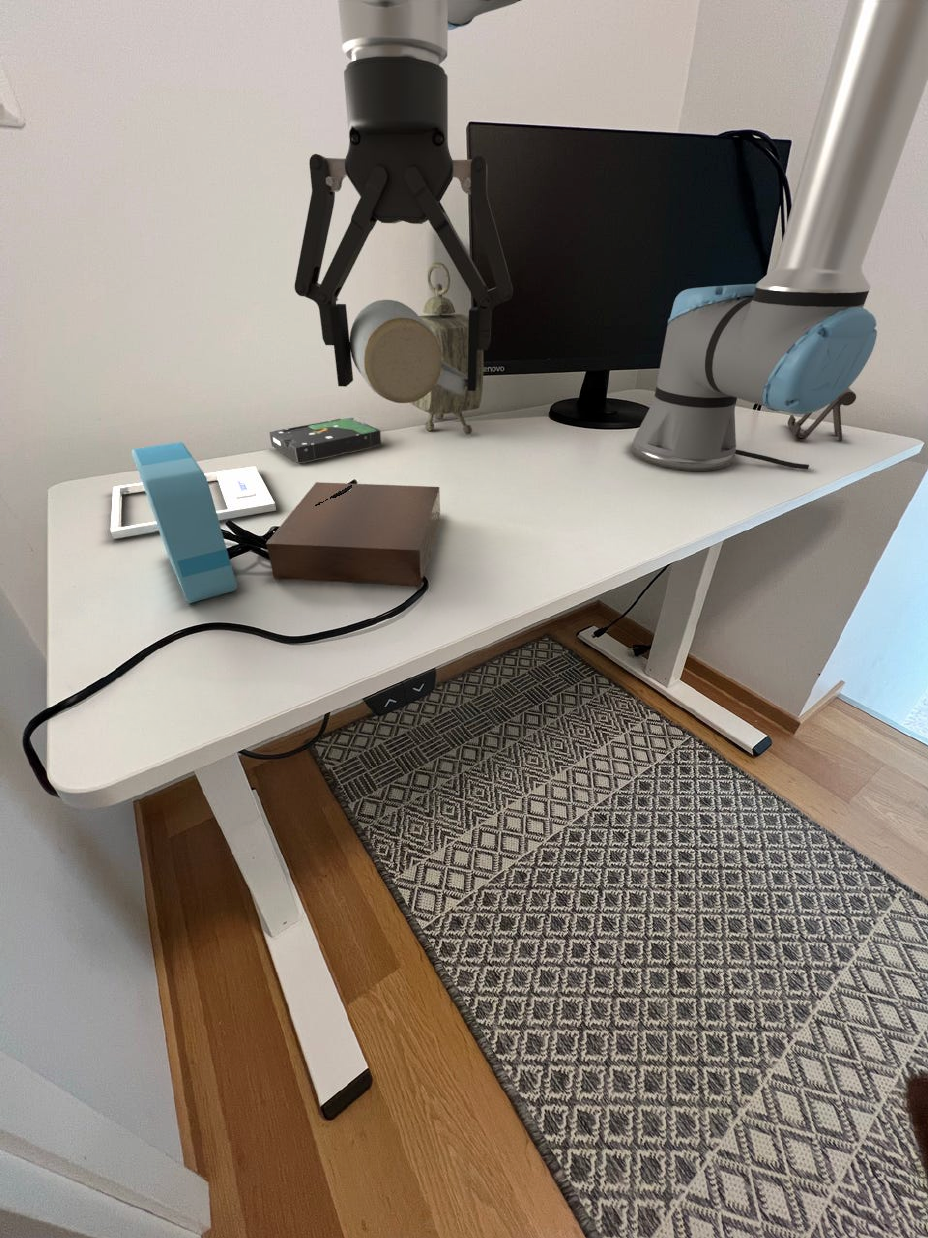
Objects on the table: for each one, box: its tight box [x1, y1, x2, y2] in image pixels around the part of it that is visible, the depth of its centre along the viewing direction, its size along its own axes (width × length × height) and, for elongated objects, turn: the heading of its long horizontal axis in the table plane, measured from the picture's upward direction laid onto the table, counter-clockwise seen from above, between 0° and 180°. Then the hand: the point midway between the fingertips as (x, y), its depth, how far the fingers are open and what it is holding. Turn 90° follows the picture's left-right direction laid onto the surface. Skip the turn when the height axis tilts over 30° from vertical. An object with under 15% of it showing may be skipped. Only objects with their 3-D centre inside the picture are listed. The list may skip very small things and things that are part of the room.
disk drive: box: [268, 417, 382, 464], centre depth 88 cm, size 10×3×15 cm
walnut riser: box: [265, 481, 441, 587], centre depth 60 cm, size 15×16×4 cm
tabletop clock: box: [409, 261, 485, 435], centre depth 90 cm, size 14×9×25 cm, turn 30°
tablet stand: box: [786, 387, 857, 442], centre depth 93 cm, size 9×8×8 cm
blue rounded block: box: [131, 441, 238, 604], centre depth 52 cm, size 12×4×12 cm, turn 33°
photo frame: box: [110, 466, 277, 540], centre depth 70 cm, size 15×1×18 cm
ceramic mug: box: [349, 299, 468, 404], centre depth 50 cm, size 11×8×8 cm
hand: (408, 385), depth 52 cm, fingers closed on ceramic mug, 11 cm apart
